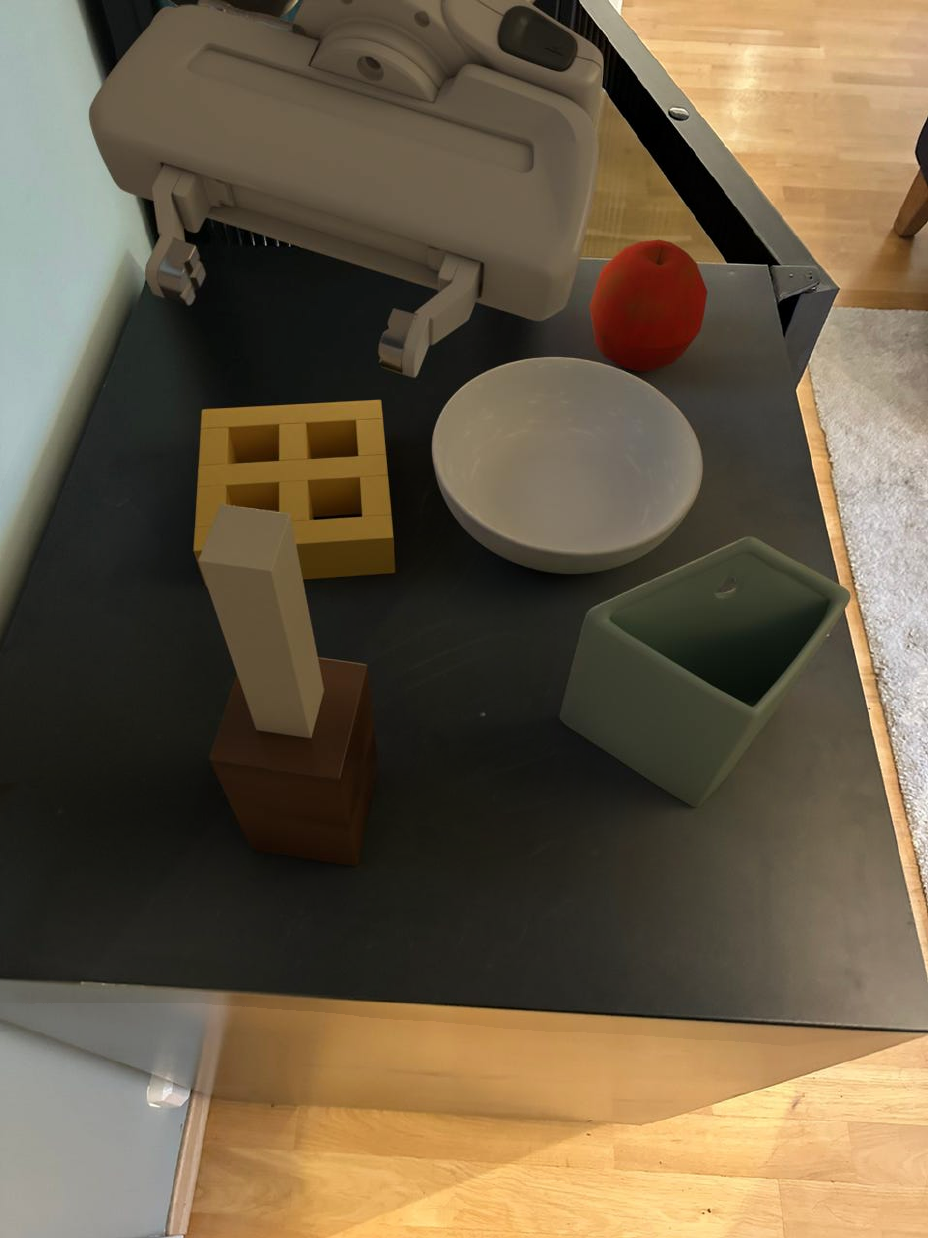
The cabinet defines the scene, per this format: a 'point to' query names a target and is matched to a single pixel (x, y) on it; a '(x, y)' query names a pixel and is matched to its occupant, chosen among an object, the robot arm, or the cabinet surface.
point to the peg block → (303, 480)
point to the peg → (264, 616)
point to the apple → (648, 305)
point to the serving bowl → (565, 464)
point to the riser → (303, 772)
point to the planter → (698, 663)
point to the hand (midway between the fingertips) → (280, 328)
